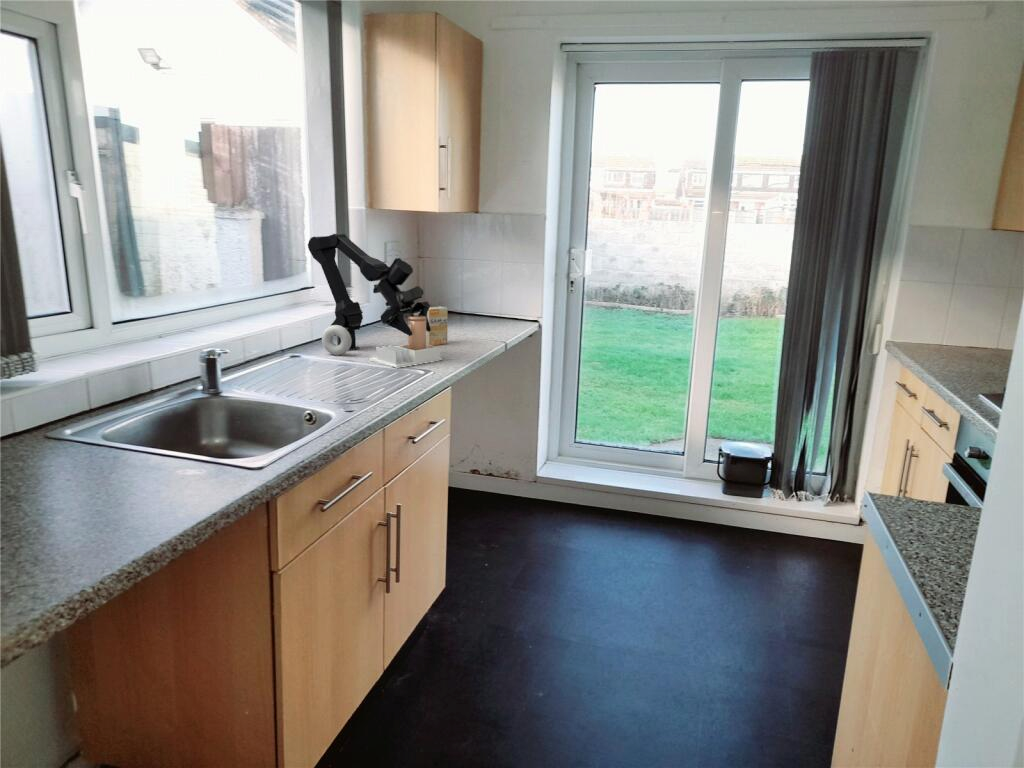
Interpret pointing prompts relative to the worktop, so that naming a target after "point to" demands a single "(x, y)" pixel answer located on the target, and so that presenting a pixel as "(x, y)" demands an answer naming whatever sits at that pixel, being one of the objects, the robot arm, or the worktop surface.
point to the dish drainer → (406, 355)
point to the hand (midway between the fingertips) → (420, 333)
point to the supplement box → (437, 325)
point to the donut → (343, 336)
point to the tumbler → (417, 332)
